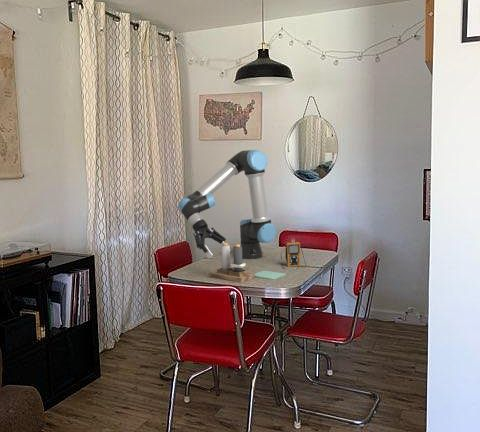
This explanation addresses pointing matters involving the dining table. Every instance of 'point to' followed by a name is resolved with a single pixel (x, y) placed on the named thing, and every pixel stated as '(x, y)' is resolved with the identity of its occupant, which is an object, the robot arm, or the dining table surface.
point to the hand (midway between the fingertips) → (220, 254)
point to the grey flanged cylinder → (237, 259)
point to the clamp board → (232, 275)
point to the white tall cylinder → (225, 256)
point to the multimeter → (293, 253)
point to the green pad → (269, 275)
